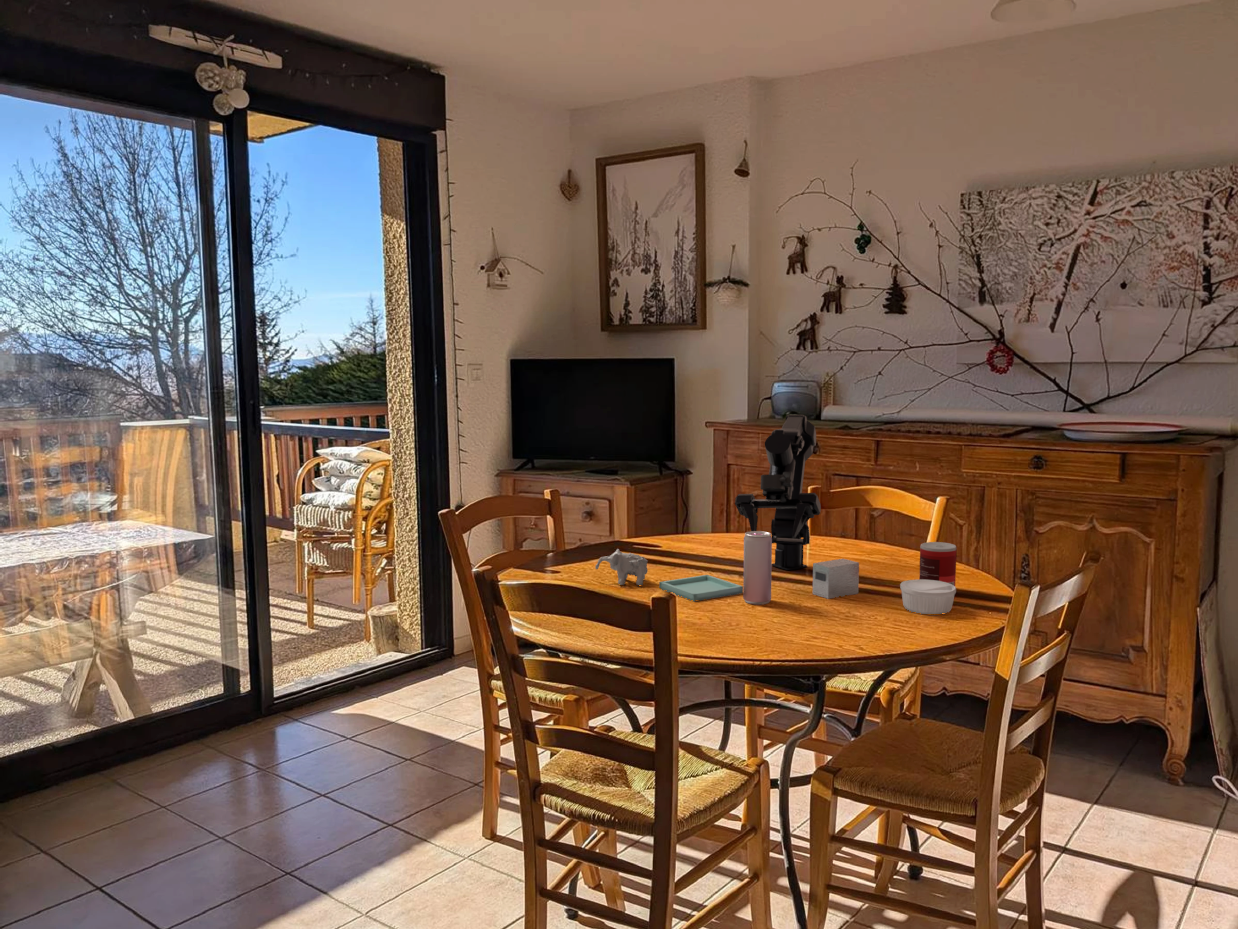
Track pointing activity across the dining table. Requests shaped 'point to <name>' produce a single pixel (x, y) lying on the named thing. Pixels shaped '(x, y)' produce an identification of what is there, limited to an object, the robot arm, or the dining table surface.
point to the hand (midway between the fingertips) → (773, 537)
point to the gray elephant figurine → (626, 566)
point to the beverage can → (757, 567)
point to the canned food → (938, 562)
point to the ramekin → (927, 596)
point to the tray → (701, 587)
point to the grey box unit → (835, 578)
